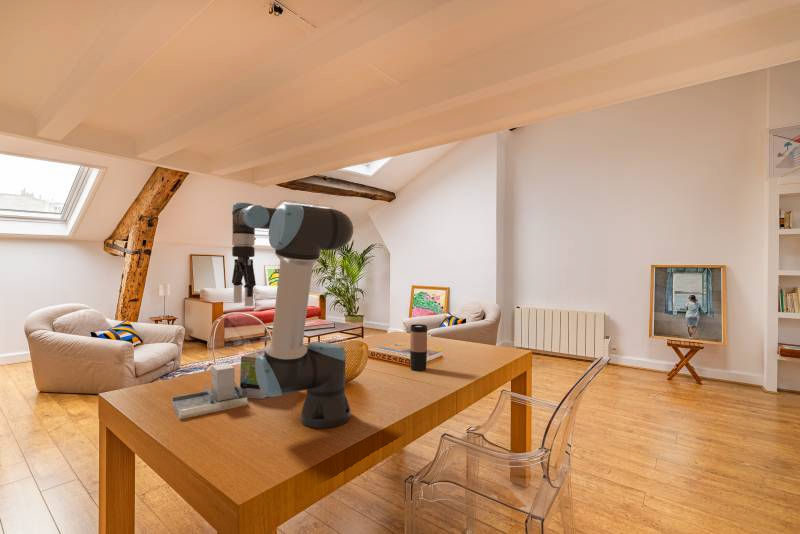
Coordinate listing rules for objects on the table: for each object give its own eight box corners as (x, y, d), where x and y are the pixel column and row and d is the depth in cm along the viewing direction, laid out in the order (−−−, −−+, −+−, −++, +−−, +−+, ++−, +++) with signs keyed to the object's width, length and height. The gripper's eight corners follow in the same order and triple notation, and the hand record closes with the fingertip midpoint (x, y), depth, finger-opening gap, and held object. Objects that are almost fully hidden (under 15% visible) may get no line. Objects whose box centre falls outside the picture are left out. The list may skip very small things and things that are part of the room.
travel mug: (407, 367, 179) (408, 324, 179) (423, 366, 181) (423, 324, 181) (413, 372, 172) (413, 327, 171) (429, 370, 174) (429, 326, 174)
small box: (234, 398, 130) (234, 367, 130) (216, 402, 127) (217, 370, 127) (228, 392, 136) (228, 362, 136) (211, 395, 133) (211, 364, 133)
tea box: (264, 399, 135) (265, 357, 135) (239, 397, 137) (239, 356, 137) (285, 386, 150) (286, 348, 150) (262, 384, 152) (262, 347, 152)
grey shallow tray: (247, 405, 130) (247, 390, 130) (179, 419, 117) (179, 403, 117) (235, 393, 141) (235, 380, 141) (172, 405, 128) (172, 390, 128)
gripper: (265, 245, 133) (265, 307, 133) (243, 247, 152) (243, 300, 152) (243, 244, 128) (242, 308, 128) (223, 246, 148) (223, 301, 148)
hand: (243, 304), depth 140 cm, fingers open, 13 cm apart
